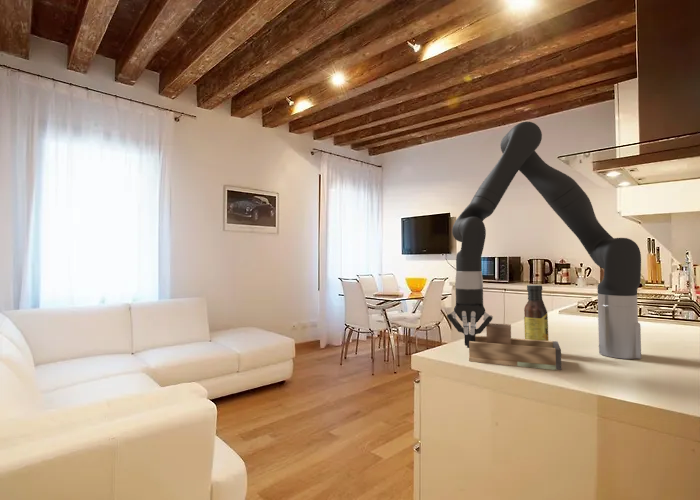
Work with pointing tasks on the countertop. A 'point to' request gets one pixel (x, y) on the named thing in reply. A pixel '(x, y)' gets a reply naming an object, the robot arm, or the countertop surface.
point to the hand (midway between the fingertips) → (470, 347)
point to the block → (498, 333)
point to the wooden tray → (517, 353)
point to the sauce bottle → (535, 315)
